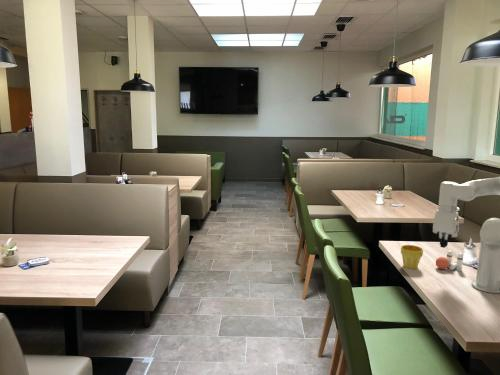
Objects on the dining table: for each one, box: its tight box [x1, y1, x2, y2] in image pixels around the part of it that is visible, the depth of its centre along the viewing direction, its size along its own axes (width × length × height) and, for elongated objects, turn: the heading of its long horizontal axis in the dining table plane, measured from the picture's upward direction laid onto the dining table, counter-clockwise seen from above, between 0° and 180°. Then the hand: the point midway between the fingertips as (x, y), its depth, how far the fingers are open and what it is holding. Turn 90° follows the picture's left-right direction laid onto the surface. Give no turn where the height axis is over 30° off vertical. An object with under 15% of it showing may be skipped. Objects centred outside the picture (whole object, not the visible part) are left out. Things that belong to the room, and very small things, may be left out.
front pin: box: [448, 260, 457, 271], centre depth 204 cm, size 2×2×8 cm
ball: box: [435, 256, 449, 270], centre depth 202 cm, size 6×6×6 cm
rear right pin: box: [455, 252, 464, 272], centre depth 200 cm, size 2×2×8 cm
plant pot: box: [400, 244, 424, 270], centre depth 204 cm, size 10×10×10 cm
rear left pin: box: [446, 250, 453, 269], centre depth 204 cm, size 2×2×8 cm
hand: (443, 246), depth 189 cm, fingers closed
